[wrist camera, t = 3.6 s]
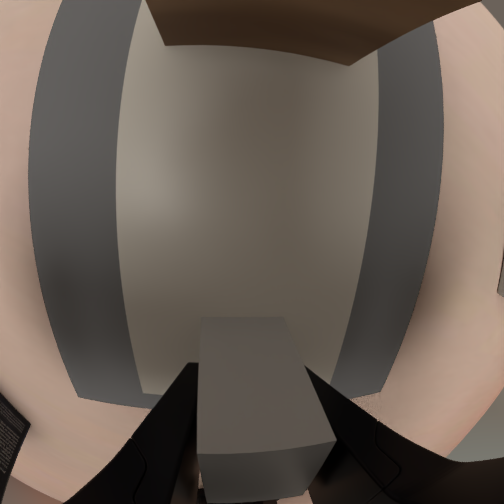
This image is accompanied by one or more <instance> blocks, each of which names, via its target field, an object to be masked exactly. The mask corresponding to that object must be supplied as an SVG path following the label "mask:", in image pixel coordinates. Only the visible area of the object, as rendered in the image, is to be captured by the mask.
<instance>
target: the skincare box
mask: <svg viewBox="0 0 504 504" xmlns="http://www.w3.org/2000/svg"><path fill="white" fill-rule="evenodd" d="M498 294H499V295H501V296H502V297H504V261H503V267H502V272H501V278H500V282H499V287H498Z"/></svg>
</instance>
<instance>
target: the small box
mask: <svg viewBox="0 0 504 504" xmlns="http://www.w3.org/2000/svg"><path fill="white" fill-rule="evenodd" d="M30 425H31V424H30V423H29V422H28V421H27V420H26V419H25V418H24V417H23V416H22V415H21V414H20V413H19V412H18V411H17V410H16V409H15V408H14V407H13V406H12V405H11V404H10V403H9V402H8V401H7V400H6V399H5V398H4V396H3V395H2V394H1V393H0V504H1V503H2V500H3V496H4V493H5V490H6V486H7V483H8V480H9V477H10V474H11V472H12V469H13V466H14V464H15V461H16V458H17V456H18V453H19V451H20V448H21V446H22V444H23V441H24V439H25V437H26V435H27V432H28V430H29V428H30Z"/></svg>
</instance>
